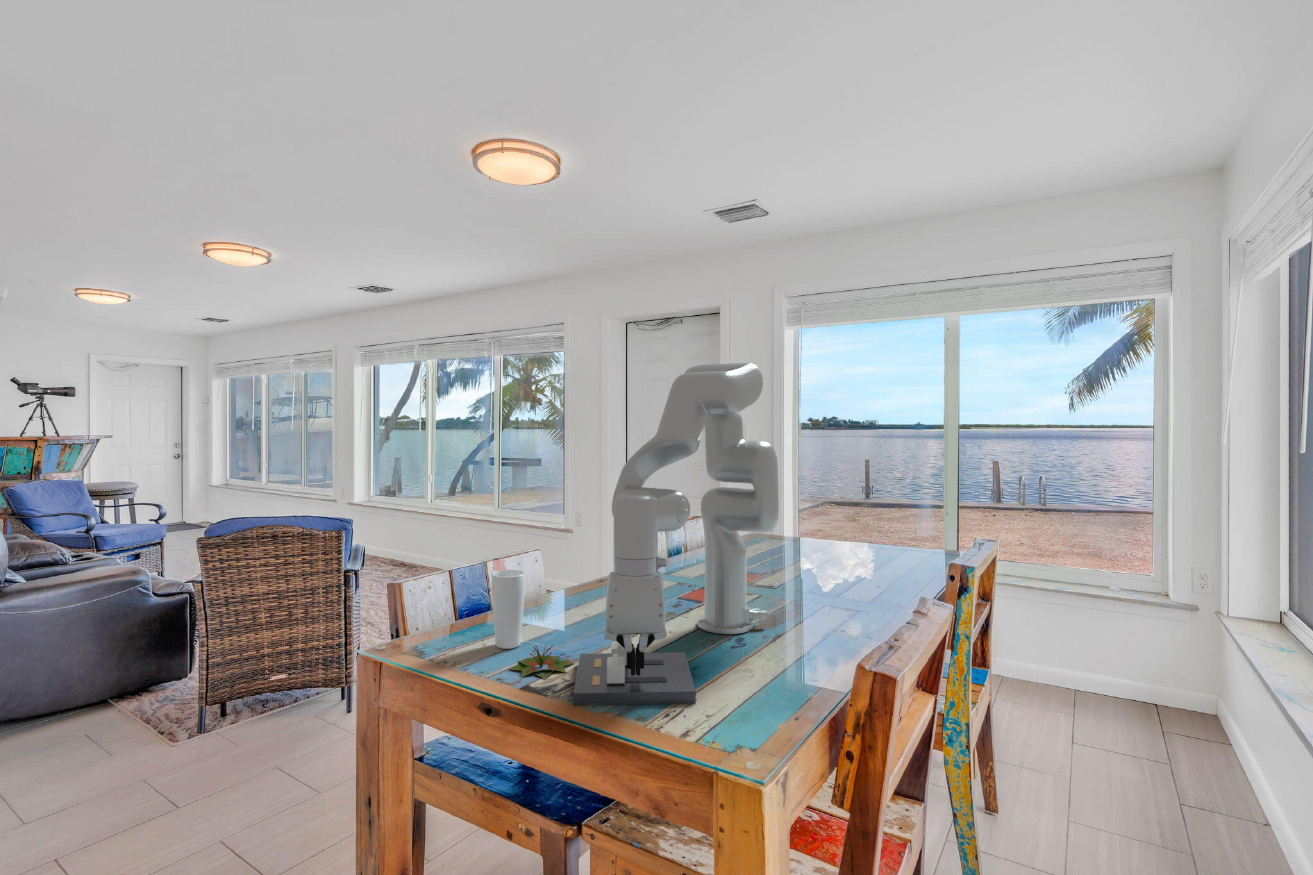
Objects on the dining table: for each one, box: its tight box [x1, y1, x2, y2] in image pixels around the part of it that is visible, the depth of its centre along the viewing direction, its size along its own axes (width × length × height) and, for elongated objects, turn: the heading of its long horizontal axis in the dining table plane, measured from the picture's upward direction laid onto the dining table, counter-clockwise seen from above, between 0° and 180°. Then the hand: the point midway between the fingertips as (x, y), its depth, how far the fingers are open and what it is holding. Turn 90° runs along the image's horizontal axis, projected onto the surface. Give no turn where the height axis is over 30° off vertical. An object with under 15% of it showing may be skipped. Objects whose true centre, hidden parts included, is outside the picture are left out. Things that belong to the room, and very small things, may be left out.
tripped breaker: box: [607, 654, 625, 684], centre depth 109 cm, size 3×4×4 cm
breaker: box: [610, 641, 627, 665], centre depth 117 cm, size 3×4×4 cm
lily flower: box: [507, 643, 575, 680], centre depth 120 cm, size 12×12×5 cm
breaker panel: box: [572, 651, 697, 707], centre depth 113 cm, size 20×18×2 cm
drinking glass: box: [491, 569, 526, 650], centre depth 131 cm, size 7×7×15 cm
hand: (635, 672), depth 109 cm, fingers closed
